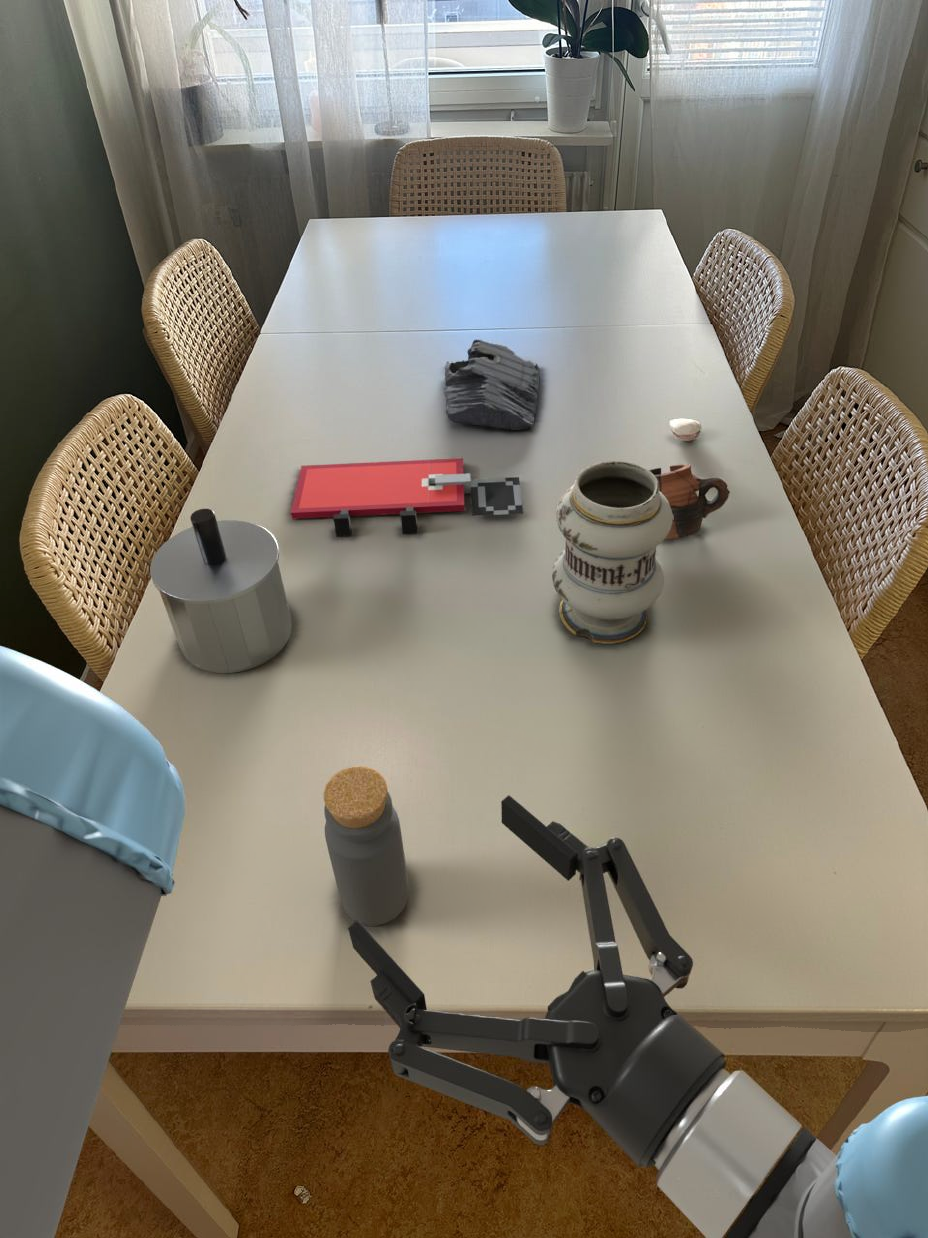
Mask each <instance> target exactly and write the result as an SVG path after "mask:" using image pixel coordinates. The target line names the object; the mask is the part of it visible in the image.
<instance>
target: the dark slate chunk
mask: <svg viewBox="0 0 928 1238" xmlns="http://www.w3.org/2000/svg"><path fill="white" fill-rule="evenodd" d="M444 382H445V388H444V397H445V401H446V409H445V414H446V416H447V418H448V420H449V421H450V422H451V423H452V424H457V425H458V424H459V425H460V424H461V425H464V424H465V425H469V426H479V427H481V426H482V427H483V426H484V427H485V426H486V427H489V428H494V429H504V430H509V431H510V430H511V431H523V430H530V429H532V428H533V427H534V424H535V417H536V411H537V409H538V407H537V406H538V400H539V398H538V395H539V387H540V384H539V382H540V368H539V365H538V364H537V363H533V362H532V361H531V360H525V359H524V358H522V357H520V356H519V355H517V354H516V353H515V351H514V350H512V349H511V348H509V347H508V346H506V345H503V344H499V343H493V342H488V341H485V340H482V339H474V340H473V342H472V343H471V346H470V347H469V348H468V349H467V360H464V359H463V360H460V361H459V360H455V361H454V360H453V361H452V360H451V361H447V362H445V366H444Z"/></svg>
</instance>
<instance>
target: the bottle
mask: <svg viewBox="0 0 928 1238" xmlns="http://www.w3.org/2000/svg"><path fill="white" fill-rule="evenodd" d="M323 802H324V807H323V808H324V810H323V811H324V819H325V824H324V838H325V842H326V847H327V851H328V855H329V860H330V864H331V867H332V872H333V877H334V880H335V884H336V888H337V891H338V895H339V898H340V899H339V900H340V902H341V906H342V908H343V910H344V912H345V914H346V915H347V916H348V917H349V918H350V919H351V920H352V921H354V922H355V921H357V920H358V921H359V923H360V924H361V925H362V926H363V925H364V926H369V927H377V926H381V925H384V924H387V923H389V922H392V921H393V920H394V919H396V918H397V917H398V916H399V915H401V914H402V912H403V911H404V909H405V908H406V906H407V903H408V899H409V893H410V889H409V887H410V885H409V878H408V871H407V862H406V856H405V848H404V842H403V836H402V835H403V834H402V827H401V823H400V818H399V815H398V813H397V811H396V808H395V807H394V806H393V805H394V804H393V800H392V797H391V794H390V793H389V789H388V784H387V781H386V779H385V777H384V776H383V775H382V774H381V773H380V772H379V771H377V770H375V769H374V768H373V767H368V766H362V765H357V766H350V767H346V768H343V769H341V770H339V771H337V772H336V773H335V774H334V775H332V776H331V778H330V779H329V780H328V781H327V783H326V785H325V786H324V790H323Z"/></svg>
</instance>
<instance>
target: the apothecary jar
mask: <svg viewBox="0 0 928 1238" xmlns="http://www.w3.org/2000/svg"><path fill="white" fill-rule="evenodd" d="M649 470H650V469H648V468H646V467H644V466H643V465H640V464H637V463H633V462H630V461H624V460H606V461H600V462H596V463H593V464H591V465H589V466H587V467H585V468H583V470H581V471H580V472H579V473H578V475H577V476H576V478H575V481H574V484H573V485H572V486H571V485H570V487H569V488H568V489H567V490H565V492H563V494H562V495H561V497H560V499H559V500H558V503H557V506H556V511H555V519H556V523H557V527H558V530H559V531H560V532H561V534H562V536H563V537H564V538H565V545H564V546H565V547H564V548H563V549H562V550H561V551H560V552H559V554H558V555H557V557H556V558H555V561H554V563H553V566H552V571H551V579H552V584H553V587H554V590H555V591H556V593H557V595H558V596H559V597H560V599H561V601H560V604H559V608H558V609H559V611H558V613H559V617H560V620H561V623H562V624H563V625H564V627H565V628H566V629H567V630H568V631H569V632H570V633H571V634H573V635H574V636H577V637H583V638H584V637H585V638H587V639H589V640H590V641H591V642H592V643H595V644H601V645H602V644H603V645H615V644H619V643H624V642H627V641H630V640H631V639H634V638H635V637H637V636H638V635H639V634H640V633H641V632H642V631H643V630H644V628H645V626H646V624H647V620H648V611H647V610H648V609H649V608H651V606H653V605H654V604H655V602H656V601H657V600H658V599H659V598H660V596H661V594H662V592H663V589H664V584H665V573H664V569H663V566H662V564H661V562H660V560H659V559H658V557H657V547H658V546H659V545H660V544H661V543H662V542H664V541H665V540H666V539H665V538H666V537H667V535H668V533H669V532H670V529H671V526H672V521H673V514H672V510H671V507H670V504H669V502H668V500H667V499H666V497H665V496H664V495H663V494H662V493H661V492H660V489H659V482H658V480H657V478H656V476H655V475H654V474H653V473H652V472H650V471H649ZM664 539H665V540H664Z"/></svg>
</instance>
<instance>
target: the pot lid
mask: <svg viewBox="0 0 928 1238" xmlns="http://www.w3.org/2000/svg"><path fill="white" fill-rule="evenodd" d="M189 518H190V522H191V525H192V526H191V527H187V528H186V529H184V530H182V531H180V532H178V533H177V534H175V535H173V536H172V537H170V538H169V539H168V540H166V541H165V542H164V543H163V544H162V545H161V546H160V547H159V548H158V549H157V551H155V554H154V555H153V557H152V560H151V563H150V565H149V566H150V568H149V573H150V577H151V580H152V583H153V585H154V586H155V588H156V589H157V591H158V592H159V593H160V592H161V593H162V594H164V595H165V596H167V597H169V598H171V599H174V600H177V601H180V602H185V603H192V604H208V603H216V602H222V601H226V600H230V599H233V598H236V597H238V596H241V595H243V594H245V593H247V592H249V591H251V590H253V589H254V588H256V587H257V586H259V585H260V584H261V583H263V582H264V581H265V580H266V579H267V578H268V577H269V576H270V575H271V573H272V572H273V571H274V569H275V567H276V565H277V563H278V564H279V559H280V548H279V545H278V541H277V540H276V538H275V536H274V535H273V534H272V533H271V532H270V531H269V530H268V529H266V528H265V527H263V526H262V525H258V524H256V523H253V522H250V521H246V520H237V519H223V520H217V517H216V514H215V512H214V510H212V509H210V508H200V509H197V510H195V511H194V512H192V513H191V514H190V517H189Z"/></svg>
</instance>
